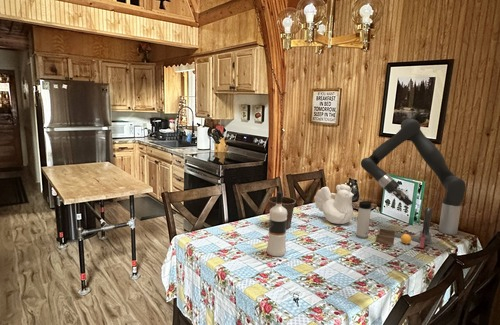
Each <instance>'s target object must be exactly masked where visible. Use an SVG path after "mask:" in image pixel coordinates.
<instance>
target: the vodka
mask: <svg viewBox="0 0 500 325" xmlns="http://www.w3.org/2000/svg"><path fill="white" fill-rule="evenodd" d="M276 196H277V197H276V206H274V207H272V208H271V209H270V208H269V219H268V220H269V222H268V223H269V224H268V240H267V246H266V252H267V254H268V255H270V256H271V257H283V256H285V255H286V253H287V246H286V242H287V241H286V238H287V229H286V220H287V210H286V209H285V208H284V207H282V196H283V192H282V191H276Z"/></svg>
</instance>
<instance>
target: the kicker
mask: <svg viewBox="0 0 500 325" xmlns="http://www.w3.org/2000/svg"><path fill="white" fill-rule="evenodd" d="M432 212H433V208H432V207H425V209H424V216H423V225H422V230H420V231H419V237H420V242H419V248H421V249H424V247H425V243H424V241H425V240H427V241H430V240H431V239H432V235H431V232H430V228H431V221H432V214H433V213H432Z"/></svg>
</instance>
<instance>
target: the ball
mask: <svg viewBox="0 0 500 325" xmlns="http://www.w3.org/2000/svg"><path fill="white" fill-rule="evenodd" d="M403 234H404V235H402V236H401V238H400V240H401V242H402V243H403V244H406V245H407V244H410V243H411V241H412V240H411V237H410V236H409V235H410V234H408V233H403Z"/></svg>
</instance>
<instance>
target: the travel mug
mask: <svg viewBox="0 0 500 325" xmlns="http://www.w3.org/2000/svg"><path fill="white" fill-rule="evenodd" d="M372 204H373V202H372V201H367V200H366V201H365V200H362V201H359V203H358V209H357V210H358V211H357V223H356V234H355V235H356V237H358V238H359V239H368V237H369V229H370V220H371V211H372V207H371V206H372Z"/></svg>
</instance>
